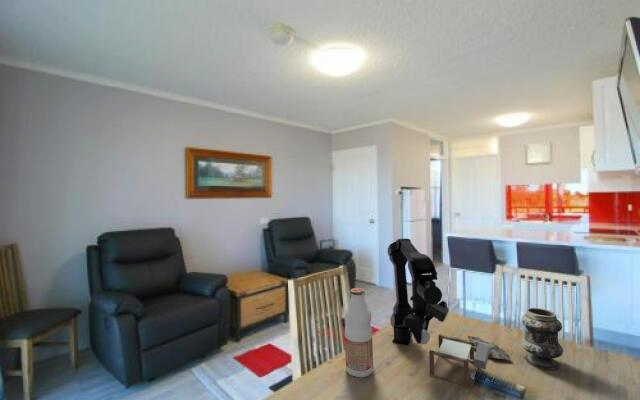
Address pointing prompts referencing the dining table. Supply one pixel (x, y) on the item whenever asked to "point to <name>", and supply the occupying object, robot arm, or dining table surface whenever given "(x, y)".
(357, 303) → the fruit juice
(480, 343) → the mineral rock
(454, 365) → the stand
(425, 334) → the garlic
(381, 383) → the dining table surface
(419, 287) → the robot arm
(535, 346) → the apothecary jar
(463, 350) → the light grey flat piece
